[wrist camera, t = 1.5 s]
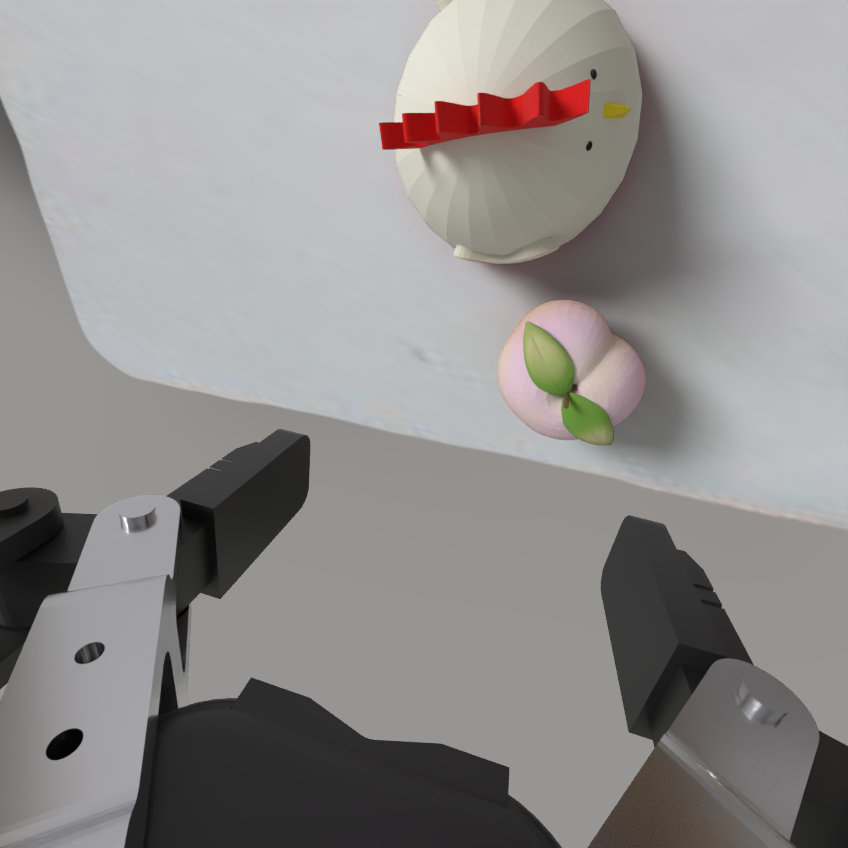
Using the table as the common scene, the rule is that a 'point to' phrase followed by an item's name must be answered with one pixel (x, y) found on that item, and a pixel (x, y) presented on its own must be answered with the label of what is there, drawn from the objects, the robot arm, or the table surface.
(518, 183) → the kitchen timer
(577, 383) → the decorative fruit
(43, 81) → the table surface
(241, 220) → the table surface
